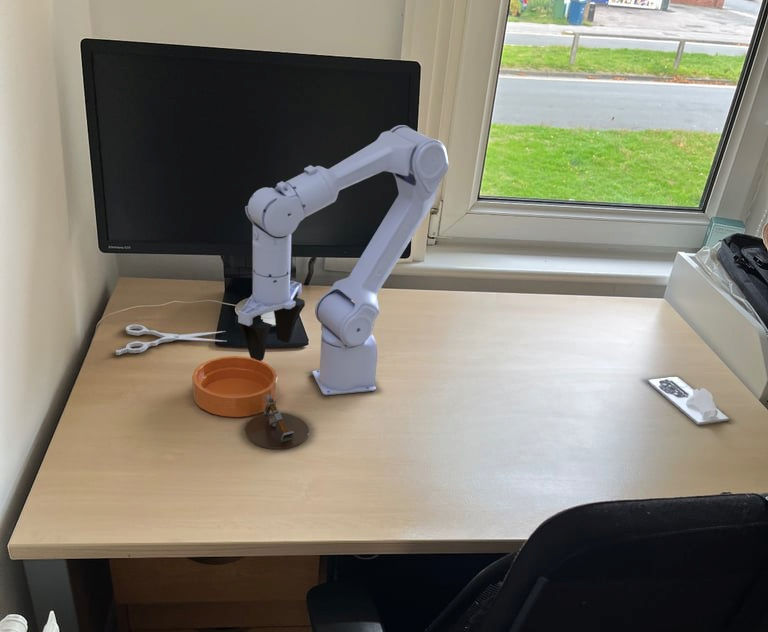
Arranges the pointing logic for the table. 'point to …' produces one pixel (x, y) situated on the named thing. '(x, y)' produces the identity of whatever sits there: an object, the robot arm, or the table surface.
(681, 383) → the white piece
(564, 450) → the table surface
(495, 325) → the table surface
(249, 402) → the bowl
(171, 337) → the scissors
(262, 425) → the coaster
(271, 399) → the wooden post with brackets
